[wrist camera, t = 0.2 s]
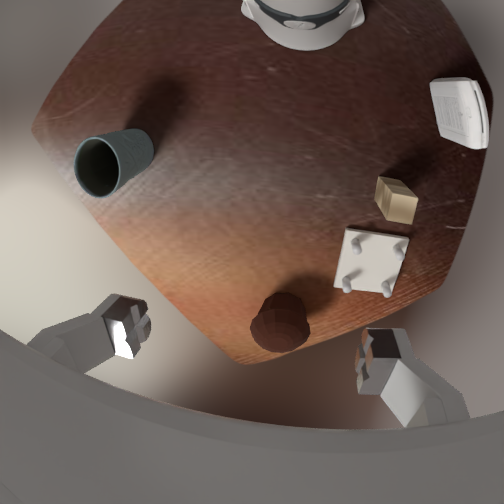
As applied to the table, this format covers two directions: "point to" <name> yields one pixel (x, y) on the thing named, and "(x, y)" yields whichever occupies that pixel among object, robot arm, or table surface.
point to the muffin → (281, 323)
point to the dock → (370, 261)
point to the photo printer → (461, 111)
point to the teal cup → (111, 160)
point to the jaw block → (395, 200)
